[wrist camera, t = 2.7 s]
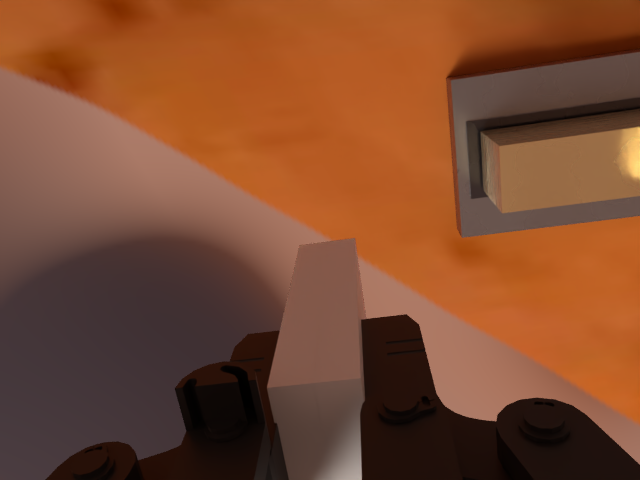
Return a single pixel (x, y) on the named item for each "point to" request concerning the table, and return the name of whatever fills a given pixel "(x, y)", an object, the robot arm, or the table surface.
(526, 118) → the lock plate
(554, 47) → the table surface
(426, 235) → the table surface
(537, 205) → the brass stepped block
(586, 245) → the table surface
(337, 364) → the robot arm
